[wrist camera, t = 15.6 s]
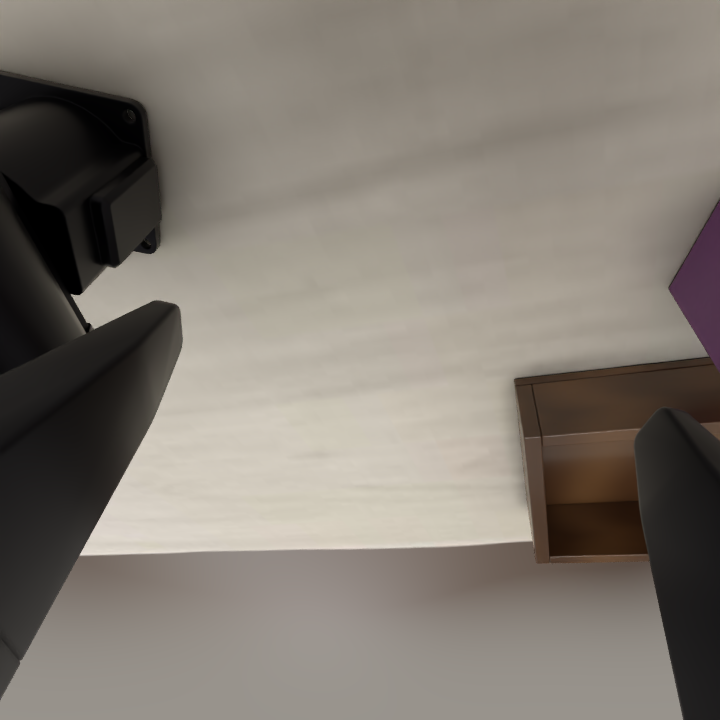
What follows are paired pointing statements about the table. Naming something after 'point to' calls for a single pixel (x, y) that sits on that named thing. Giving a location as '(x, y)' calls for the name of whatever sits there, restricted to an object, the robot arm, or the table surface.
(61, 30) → the table surface
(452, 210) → the table surface
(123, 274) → the table surface
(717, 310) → the block
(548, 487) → the wooden tray
